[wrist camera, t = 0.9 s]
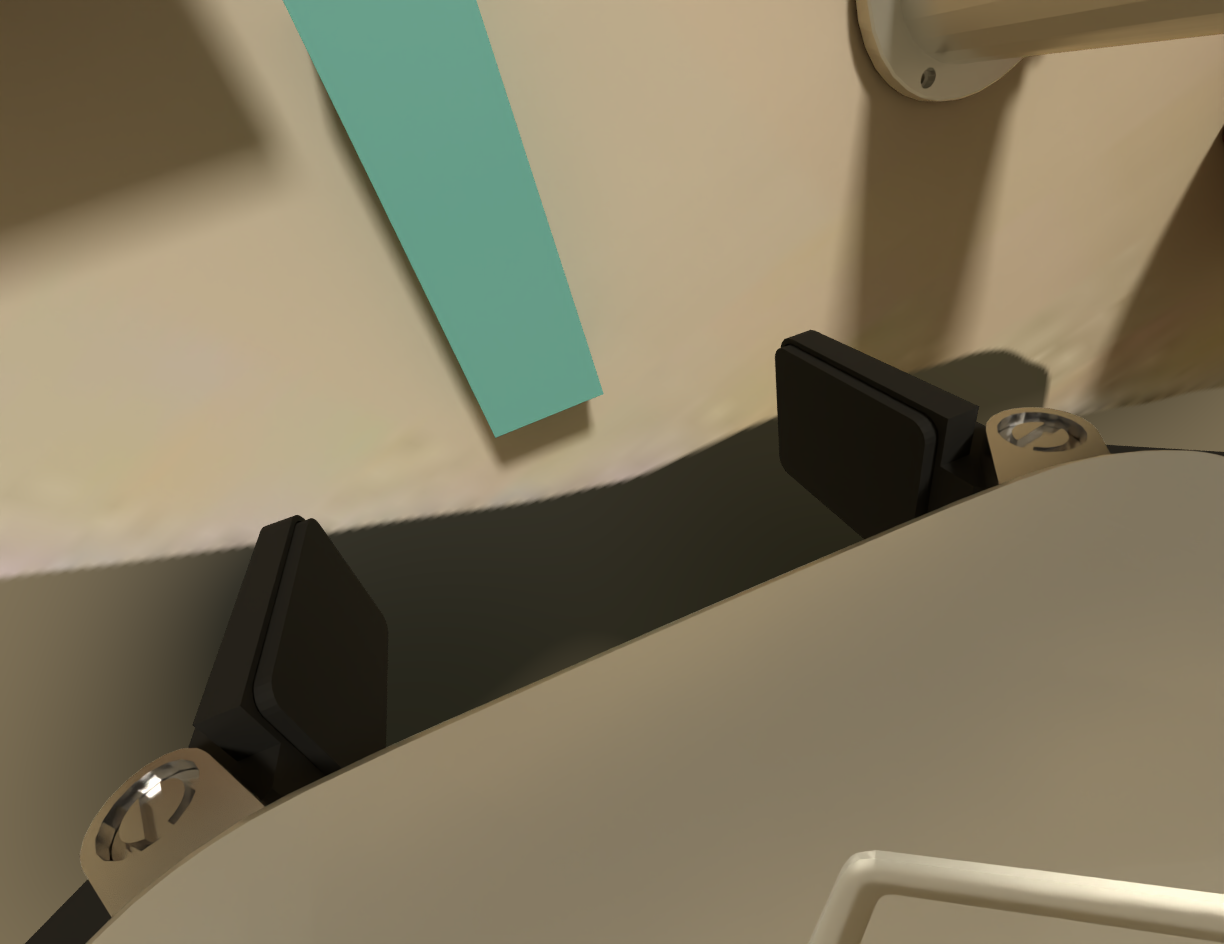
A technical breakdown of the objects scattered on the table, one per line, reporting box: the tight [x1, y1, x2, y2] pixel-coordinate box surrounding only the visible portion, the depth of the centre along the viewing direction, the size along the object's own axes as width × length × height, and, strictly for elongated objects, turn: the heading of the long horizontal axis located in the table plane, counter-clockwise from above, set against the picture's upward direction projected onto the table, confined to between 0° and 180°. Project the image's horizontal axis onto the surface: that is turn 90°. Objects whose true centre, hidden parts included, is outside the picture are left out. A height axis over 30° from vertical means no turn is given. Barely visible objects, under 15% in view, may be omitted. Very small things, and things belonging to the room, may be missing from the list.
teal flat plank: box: [283, 0, 603, 438], centre depth 24 cm, size 6×18×4 cm, turn 17°
